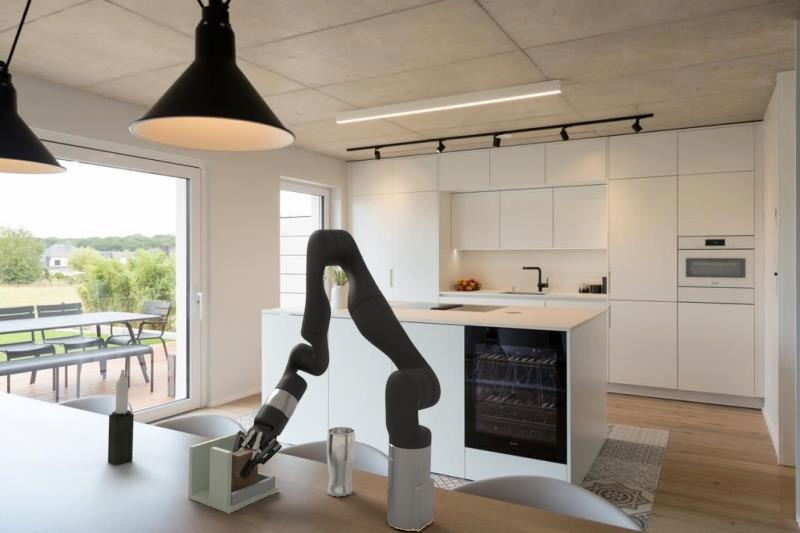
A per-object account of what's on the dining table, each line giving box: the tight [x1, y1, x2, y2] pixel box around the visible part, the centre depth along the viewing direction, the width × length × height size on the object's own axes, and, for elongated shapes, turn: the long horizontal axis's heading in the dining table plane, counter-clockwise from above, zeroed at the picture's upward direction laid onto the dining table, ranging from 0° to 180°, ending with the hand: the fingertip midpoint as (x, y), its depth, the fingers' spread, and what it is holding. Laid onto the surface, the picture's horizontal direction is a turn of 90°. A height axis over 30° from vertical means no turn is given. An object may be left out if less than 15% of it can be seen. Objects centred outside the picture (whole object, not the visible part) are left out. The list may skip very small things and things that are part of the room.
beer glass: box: [325, 426, 356, 496], centre depth 138 cm, size 7×7×15 cm
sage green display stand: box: [187, 431, 280, 514], centre depth 135 cm, size 14×15×13 cm
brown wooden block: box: [231, 446, 259, 493], centre depth 133 cm, size 3×6×9 cm, turn 147°
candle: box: [107, 369, 135, 466], centre depth 155 cm, size 5×5×25 cm
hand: (237, 475), depth 131 cm, fingers closed on brown wooden block, 3 cm apart
